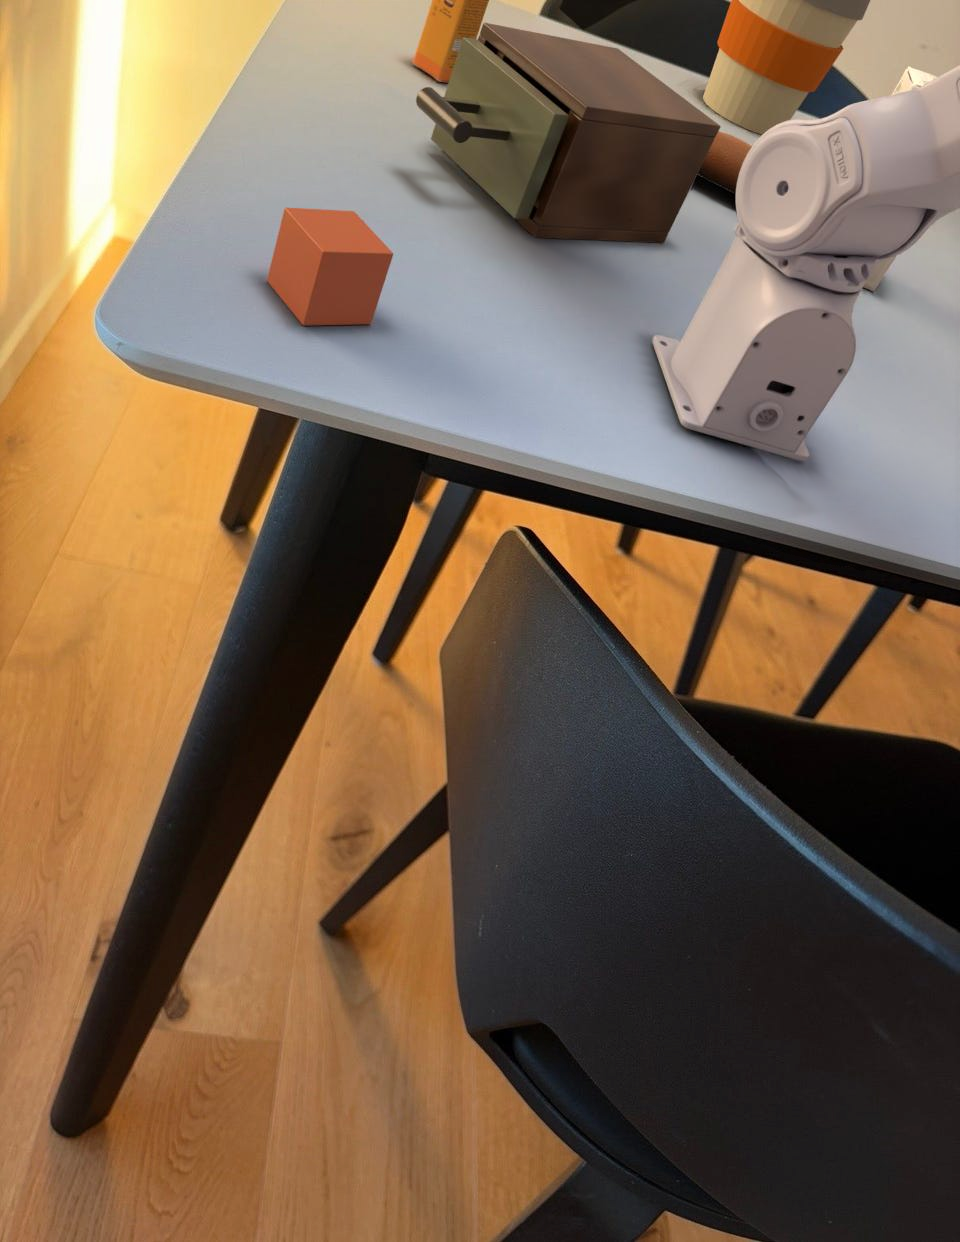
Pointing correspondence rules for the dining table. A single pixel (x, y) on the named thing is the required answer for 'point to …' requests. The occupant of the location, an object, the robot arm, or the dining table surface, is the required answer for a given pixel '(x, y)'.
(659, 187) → the cabinet
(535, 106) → the drawer
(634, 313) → the dining table surface
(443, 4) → the supplement box
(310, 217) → the block
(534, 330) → the dining table surface
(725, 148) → the sunglasses case
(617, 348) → the dining table surface
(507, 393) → the dining table surface
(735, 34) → the reusable coffee cup
